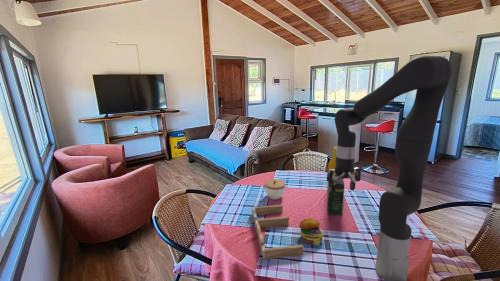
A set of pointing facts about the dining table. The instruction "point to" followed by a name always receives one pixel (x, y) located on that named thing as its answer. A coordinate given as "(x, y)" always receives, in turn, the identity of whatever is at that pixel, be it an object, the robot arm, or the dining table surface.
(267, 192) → the lidded bowl
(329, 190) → the coffee jar
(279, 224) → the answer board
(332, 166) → the beer bottle
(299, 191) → the dining table surface
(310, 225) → the cheeseburger
